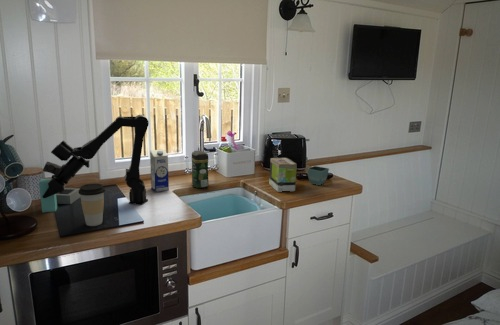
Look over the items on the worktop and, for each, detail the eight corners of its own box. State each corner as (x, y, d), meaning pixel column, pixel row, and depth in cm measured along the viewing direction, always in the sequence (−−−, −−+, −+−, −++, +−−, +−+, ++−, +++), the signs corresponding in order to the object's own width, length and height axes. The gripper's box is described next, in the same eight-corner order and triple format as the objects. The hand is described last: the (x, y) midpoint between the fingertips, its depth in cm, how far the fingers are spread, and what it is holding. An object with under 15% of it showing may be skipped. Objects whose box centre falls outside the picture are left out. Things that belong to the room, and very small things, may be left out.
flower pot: (313, 181, 211) (314, 165, 209) (328, 184, 206) (329, 168, 204) (306, 184, 204) (307, 168, 202) (321, 187, 199) (322, 171, 197)
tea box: (295, 191, 192) (297, 163, 188) (277, 192, 189) (278, 164, 186) (286, 183, 206) (287, 156, 202) (268, 183, 203) (269, 157, 200)
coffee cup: (86, 218, 150) (83, 182, 146) (110, 218, 151) (107, 182, 147) (77, 228, 141) (74, 190, 137) (103, 228, 142) (100, 190, 138)
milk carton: (164, 186, 193) (163, 148, 188) (169, 190, 188) (168, 151, 183) (151, 188, 190) (149, 150, 185) (155, 192, 184) (154, 152, 179)
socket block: (80, 196, 175) (80, 188, 174) (70, 204, 165) (69, 195, 164) (59, 196, 175) (58, 187, 174) (47, 203, 165) (47, 194, 164)
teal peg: (57, 207, 161) (54, 178, 158) (55, 211, 156) (52, 181, 153) (44, 208, 159) (41, 179, 156) (42, 212, 155) (38, 182, 152)
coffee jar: (190, 183, 199) (189, 149, 195) (204, 182, 202) (204, 148, 198) (195, 189, 191) (195, 153, 186) (210, 187, 194) (210, 152, 190)
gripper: (58, 150, 162) (32, 177, 161) (51, 160, 145) (22, 190, 144) (79, 167, 167) (54, 192, 166) (75, 178, 150) (47, 207, 149)
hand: (44, 195), depth 156 cm, fingers open, 6 cm apart
